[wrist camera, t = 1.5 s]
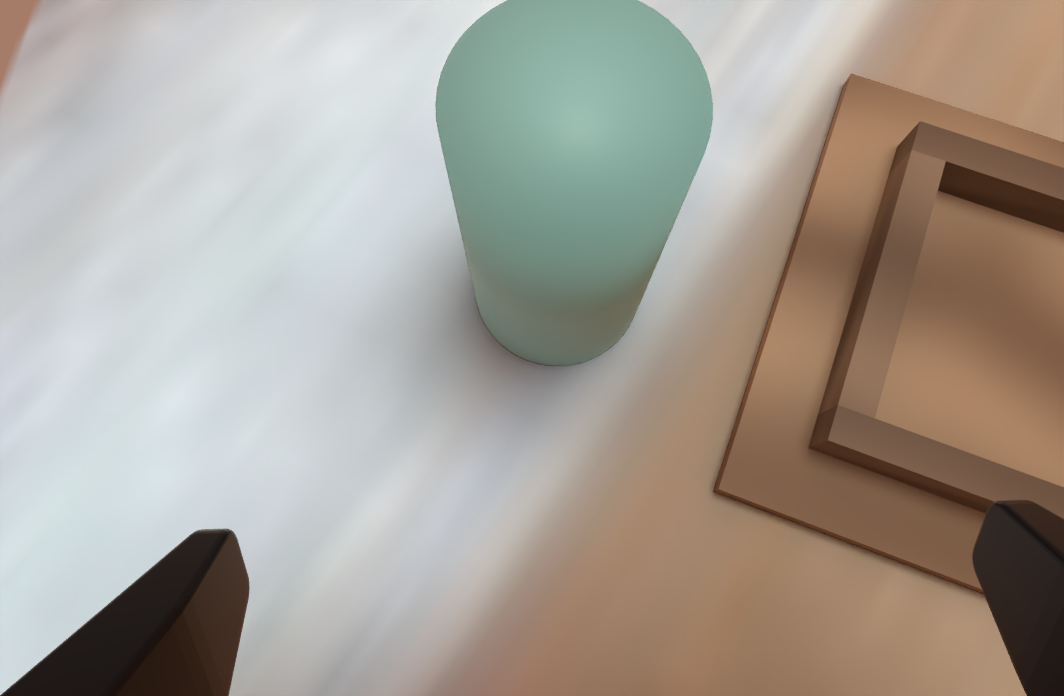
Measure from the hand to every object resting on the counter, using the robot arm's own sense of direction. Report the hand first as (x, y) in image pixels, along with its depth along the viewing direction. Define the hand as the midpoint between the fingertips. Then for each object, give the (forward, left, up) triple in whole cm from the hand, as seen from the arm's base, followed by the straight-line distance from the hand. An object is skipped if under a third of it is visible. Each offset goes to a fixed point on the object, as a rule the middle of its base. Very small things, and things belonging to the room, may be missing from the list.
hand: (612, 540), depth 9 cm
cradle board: (-5, -13, -13) cm, 19 cm away
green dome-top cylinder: (+6, -5, -13) cm, 15 cm away
